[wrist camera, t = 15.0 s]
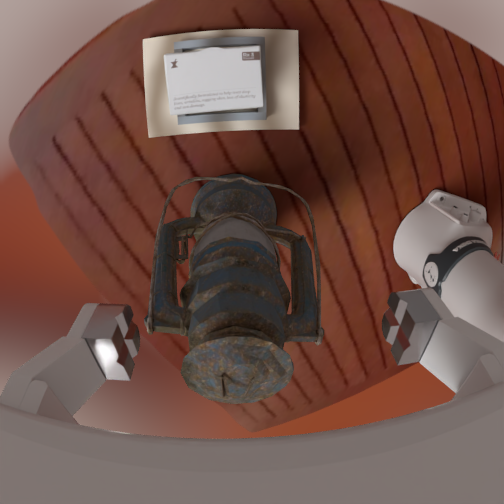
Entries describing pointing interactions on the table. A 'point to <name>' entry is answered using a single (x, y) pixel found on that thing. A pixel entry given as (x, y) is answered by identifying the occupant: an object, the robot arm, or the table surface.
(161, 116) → the board
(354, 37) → the table surface
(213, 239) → the lantern
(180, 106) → the skincare box
